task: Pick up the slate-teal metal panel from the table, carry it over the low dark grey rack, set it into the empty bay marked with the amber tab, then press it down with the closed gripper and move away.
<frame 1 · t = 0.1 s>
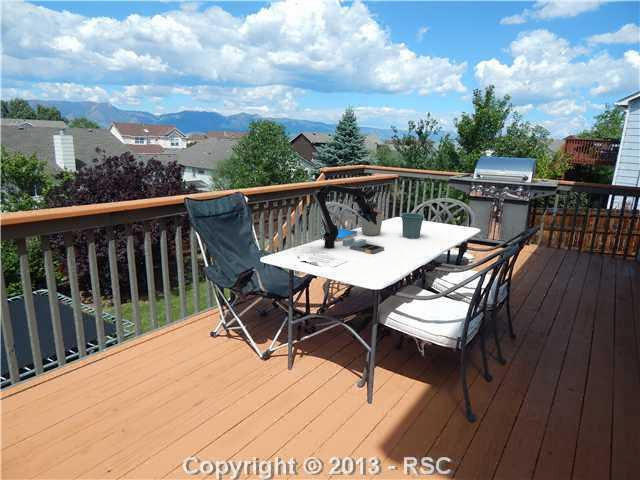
hand: (373, 223, 271), 15 cm above the table, tool tilted 30°, fingers open, 9 cm apart
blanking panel: (348, 246, 271), on the table
tray: (321, 261, 240), on the table
fitted panel: (359, 247, 263), point 1 cm above the table, touching rack
grey plant pot: (370, 234, 304), on the table
rack: (366, 250, 259), on the table
book: (339, 238, 293), on the table
flower pot: (411, 236, 298), on the table
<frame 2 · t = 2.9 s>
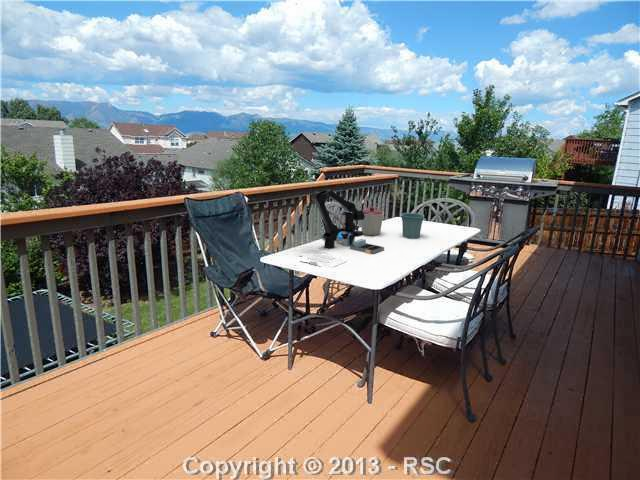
hand: (348, 244, 271), 1 cm above the table, tool pointing down, fingers closed on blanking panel, 3 cm apart
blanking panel: (348, 246, 271), on the table, touching gripper
everything else where it was.
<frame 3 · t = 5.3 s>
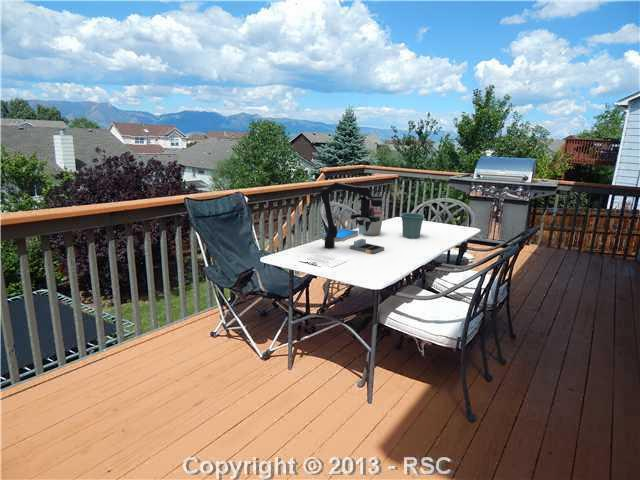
hand: (364, 231, 259), 12 cm above the table, tool pointing down, fingers closed on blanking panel, 3 cm apart
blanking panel: (364, 232, 259), point 11 cm above the table, touching gripper
everything else where it was.
when the fingers open (4 cm above the table, at t = 7.6 s): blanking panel drops 2 cm, resting on rack.
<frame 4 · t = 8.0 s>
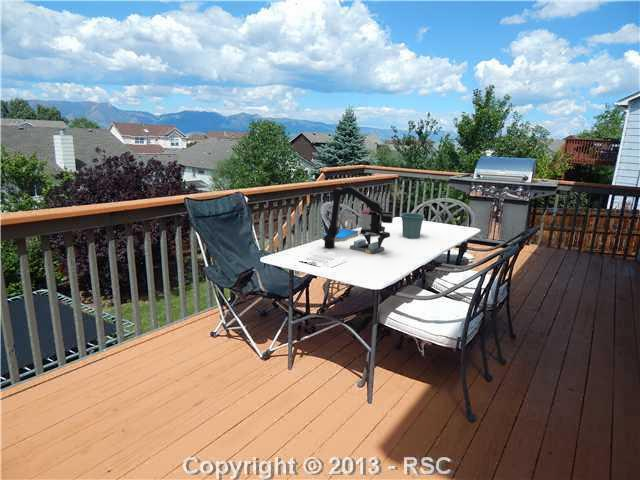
hand: (374, 246, 255), 4 cm above the table, tool pointing down, fingers open, 7 cm apart
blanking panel: (374, 251, 256), point 1 cm above the table, touching rack
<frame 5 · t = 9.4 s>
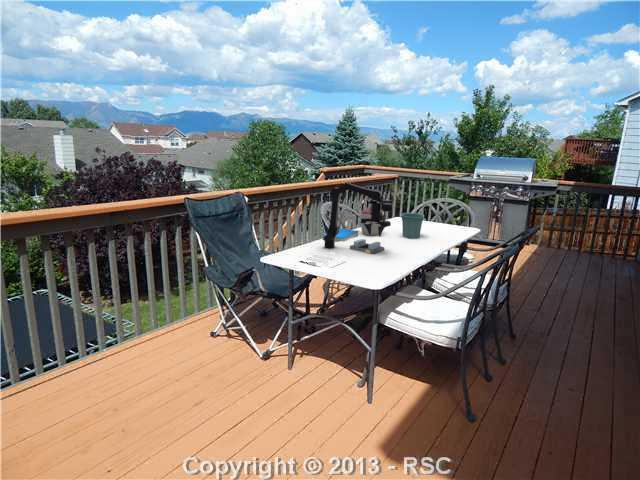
hand: (374, 235, 253), 11 cm above the table, tool pointing down, fingers open, 7 cm apart
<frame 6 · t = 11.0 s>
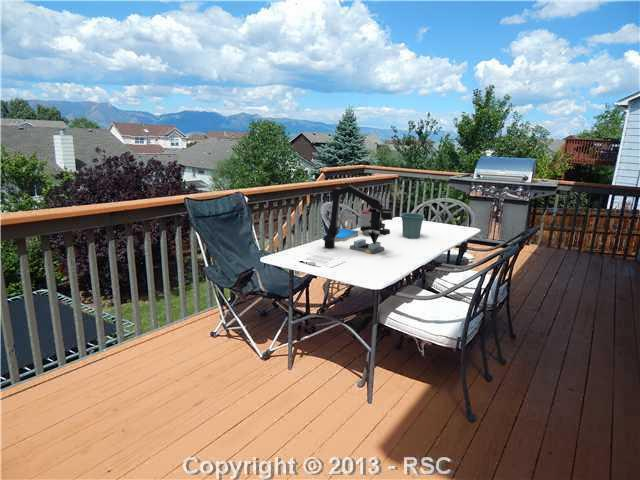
hand: (374, 243, 254), 6 cm above the table, tool pointing down, fingers closed, pressing on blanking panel
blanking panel: (374, 251, 256), point 1 cm above the table, touching gripper, rack
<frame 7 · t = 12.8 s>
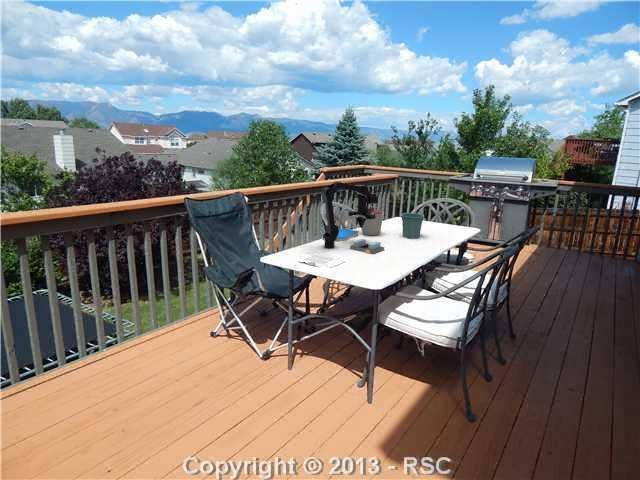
hand: (361, 227, 270), 12 cm above the table, tool pointing down, fingers closed
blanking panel: (374, 251, 256), point 1 cm above the table, touching rack
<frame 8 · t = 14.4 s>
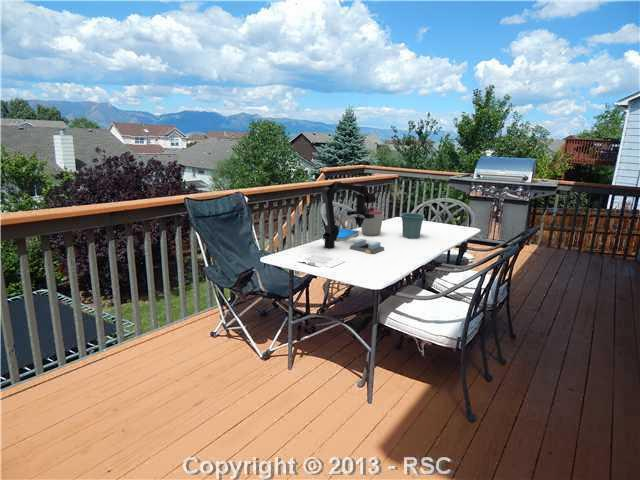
hand: (359, 227, 272), 12 cm above the table, tool pointing down, fingers closed
at the end: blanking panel 0.1 cm from the target spot on the rack, point 1.0 cm above the rack's base; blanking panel tilted 0°; fitted panel moved 0.1 cm from its start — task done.
